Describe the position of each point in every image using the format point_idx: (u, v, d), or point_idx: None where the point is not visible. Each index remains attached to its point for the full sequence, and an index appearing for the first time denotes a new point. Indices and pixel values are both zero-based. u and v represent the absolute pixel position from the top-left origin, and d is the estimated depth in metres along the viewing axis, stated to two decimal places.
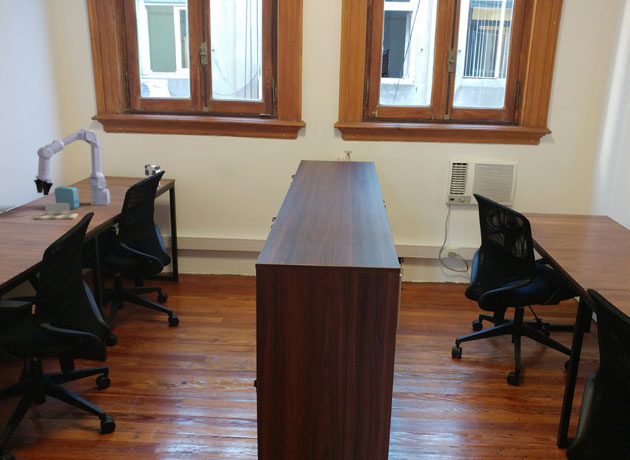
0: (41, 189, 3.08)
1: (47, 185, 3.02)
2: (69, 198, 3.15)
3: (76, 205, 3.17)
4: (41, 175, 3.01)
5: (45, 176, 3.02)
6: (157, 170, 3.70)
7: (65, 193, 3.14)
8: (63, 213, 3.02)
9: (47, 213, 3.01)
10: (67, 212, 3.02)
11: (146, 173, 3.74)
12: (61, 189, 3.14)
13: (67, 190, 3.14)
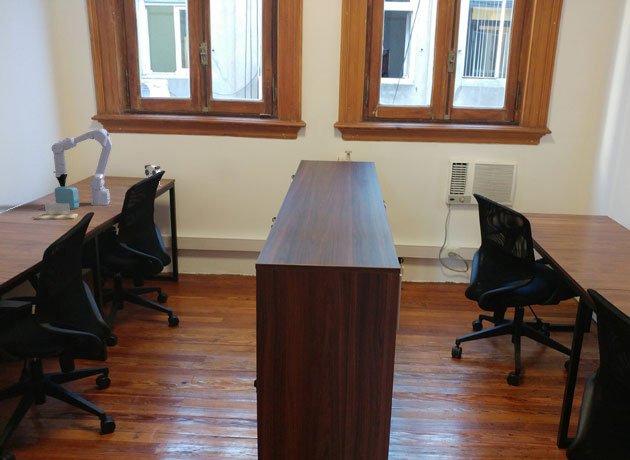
0: None
1: (62, 178, 3.23)
2: (69, 198, 3.15)
3: (76, 205, 3.17)
4: (55, 169, 3.20)
5: (58, 170, 3.19)
6: (157, 170, 3.70)
7: (66, 193, 3.14)
8: (63, 213, 3.02)
9: (47, 213, 3.01)
10: (67, 212, 3.02)
11: (146, 173, 3.74)
12: (61, 189, 3.14)
13: (67, 190, 3.14)
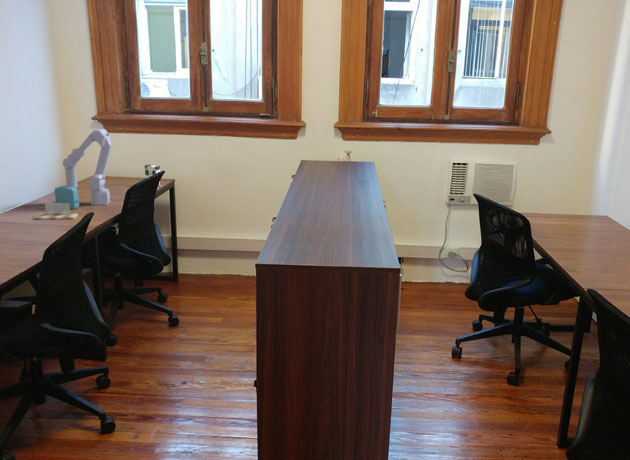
0: None
1: None
2: (69, 198, 3.15)
3: (76, 205, 3.17)
4: (67, 183, 3.25)
5: (70, 185, 3.24)
6: (157, 170, 3.70)
7: (66, 193, 3.14)
8: (63, 213, 3.02)
9: (47, 213, 3.01)
10: (67, 212, 3.02)
11: (146, 173, 3.74)
12: (61, 189, 3.14)
13: (67, 190, 3.14)
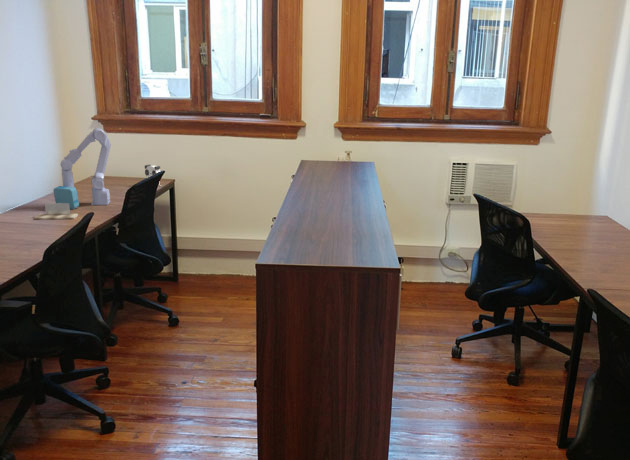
0: None
1: None
2: (68, 198, 3.14)
3: (76, 205, 3.17)
4: None
5: None
6: (157, 170, 3.70)
7: (65, 194, 3.14)
8: (63, 213, 3.02)
9: (47, 213, 3.01)
10: (67, 212, 3.02)
11: (146, 173, 3.74)
12: (60, 189, 3.13)
13: (66, 190, 3.13)
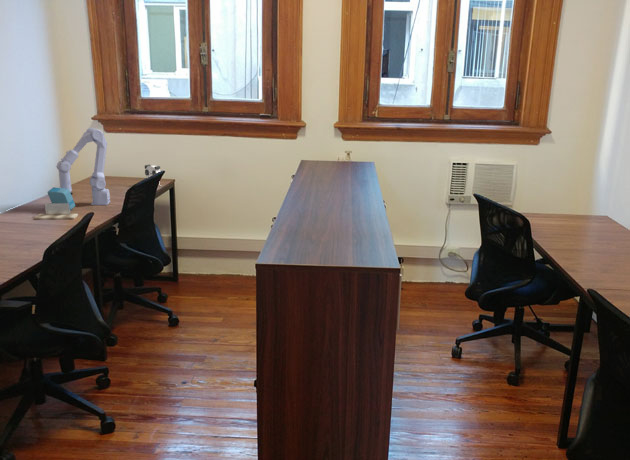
0: None
1: None
2: (63, 201, 3.10)
3: (72, 206, 3.13)
4: (60, 187, 3.14)
5: None
6: (157, 170, 3.70)
7: (59, 197, 3.09)
8: (63, 213, 3.02)
9: (47, 213, 3.01)
10: (67, 212, 3.02)
11: (146, 173, 3.74)
12: (53, 193, 3.08)
13: (59, 194, 3.07)
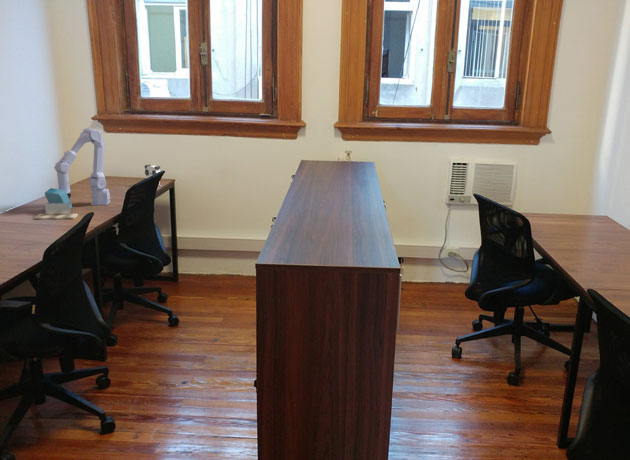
0: None
1: None
2: (59, 202, 3.07)
3: None
4: (59, 189, 3.11)
5: None
6: (157, 170, 3.70)
7: (55, 198, 3.06)
8: (63, 213, 3.02)
9: (47, 213, 3.01)
10: (67, 212, 3.02)
11: (146, 173, 3.74)
12: (50, 194, 3.06)
13: (55, 195, 3.04)
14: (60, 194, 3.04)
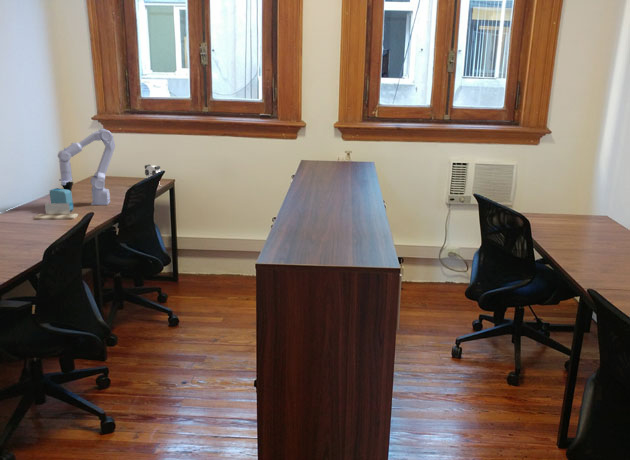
0: None
1: (67, 186, 3.18)
2: (62, 201, 3.08)
3: None
4: (61, 177, 3.15)
5: (64, 178, 3.15)
6: (157, 170, 3.70)
7: (59, 196, 3.08)
8: (63, 213, 3.02)
9: (47, 213, 3.01)
10: (67, 212, 3.02)
11: (146, 173, 3.74)
12: (55, 191, 3.09)
13: (60, 193, 3.07)
14: (65, 192, 3.07)
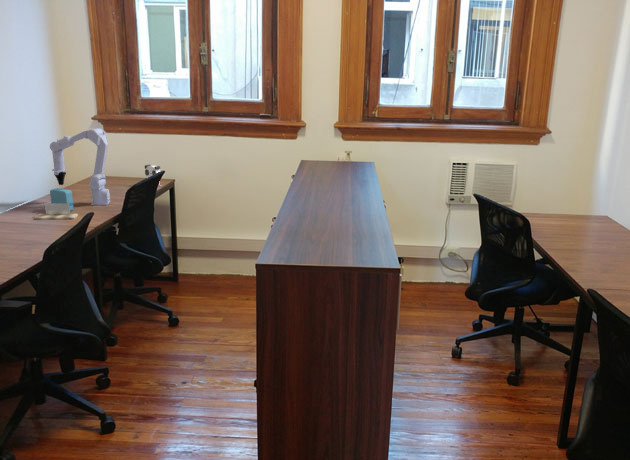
0: None
1: (60, 176, 3.27)
2: (62, 201, 3.09)
3: (70, 208, 3.10)
4: (54, 167, 3.25)
5: (57, 168, 3.24)
6: (157, 170, 3.70)
7: (59, 196, 3.09)
8: (63, 213, 3.02)
9: (47, 213, 3.01)
10: (67, 212, 3.02)
11: (146, 173, 3.74)
12: (55, 191, 3.09)
13: (61, 192, 3.08)
14: (66, 192, 3.07)
